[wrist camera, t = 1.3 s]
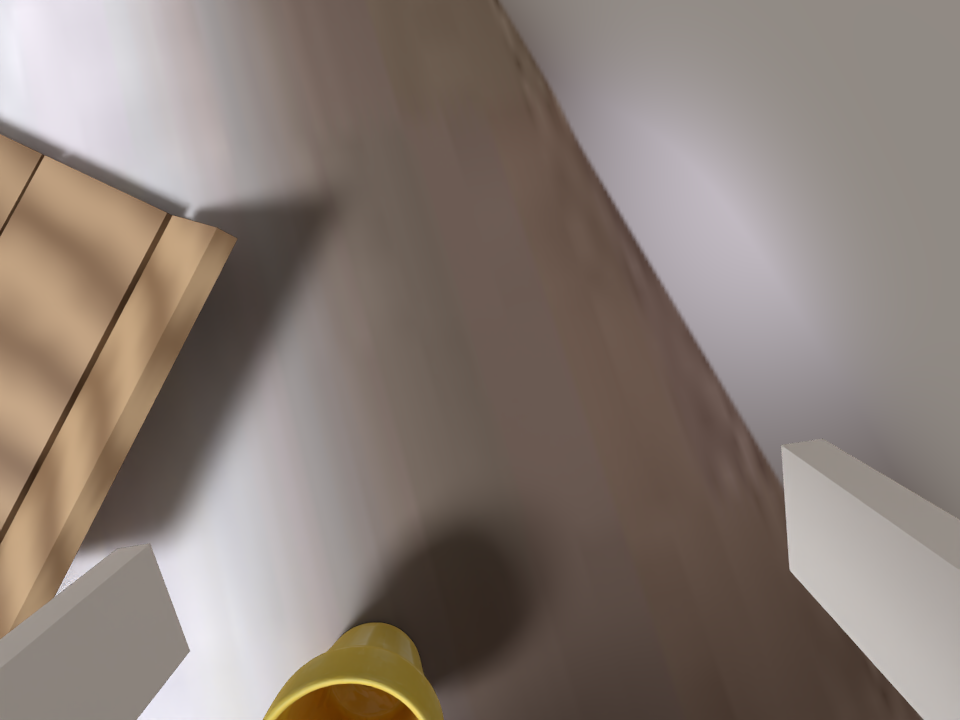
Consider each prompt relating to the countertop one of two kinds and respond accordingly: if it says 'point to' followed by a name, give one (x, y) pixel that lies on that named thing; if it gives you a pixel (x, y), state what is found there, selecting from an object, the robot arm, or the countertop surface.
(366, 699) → the plant pot
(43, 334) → the laid floor
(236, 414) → the countertop surface
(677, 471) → the countertop surface
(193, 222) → the board
